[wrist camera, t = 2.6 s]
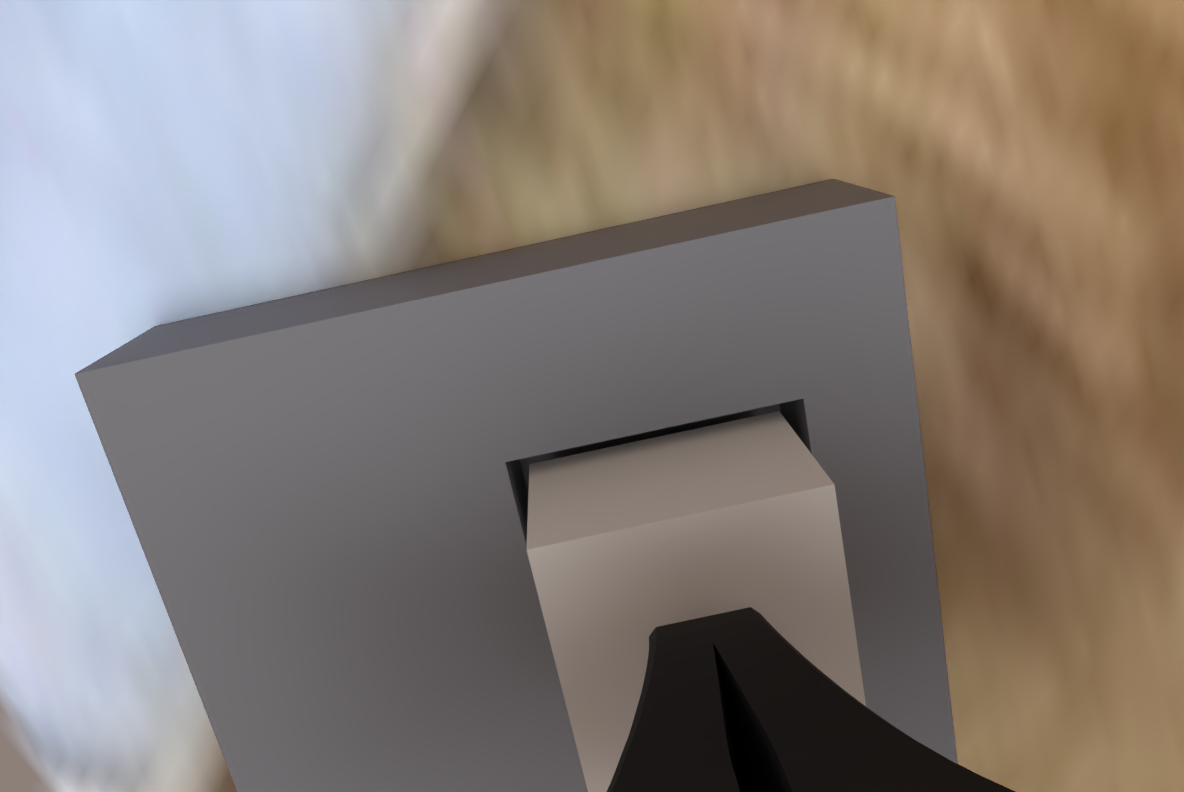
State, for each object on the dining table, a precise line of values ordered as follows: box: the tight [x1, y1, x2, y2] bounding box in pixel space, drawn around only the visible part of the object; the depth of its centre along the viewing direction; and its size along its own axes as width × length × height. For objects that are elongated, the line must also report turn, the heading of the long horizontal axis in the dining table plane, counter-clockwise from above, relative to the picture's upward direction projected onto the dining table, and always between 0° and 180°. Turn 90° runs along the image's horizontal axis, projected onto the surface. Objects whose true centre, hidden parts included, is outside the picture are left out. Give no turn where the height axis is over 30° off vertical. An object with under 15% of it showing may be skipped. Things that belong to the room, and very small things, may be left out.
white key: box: [526, 411, 866, 792], centre depth 14 cm, size 4×4×3 cm
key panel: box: [75, 179, 958, 792], centre depth 18 cm, size 12×20×3 cm, turn 12°
